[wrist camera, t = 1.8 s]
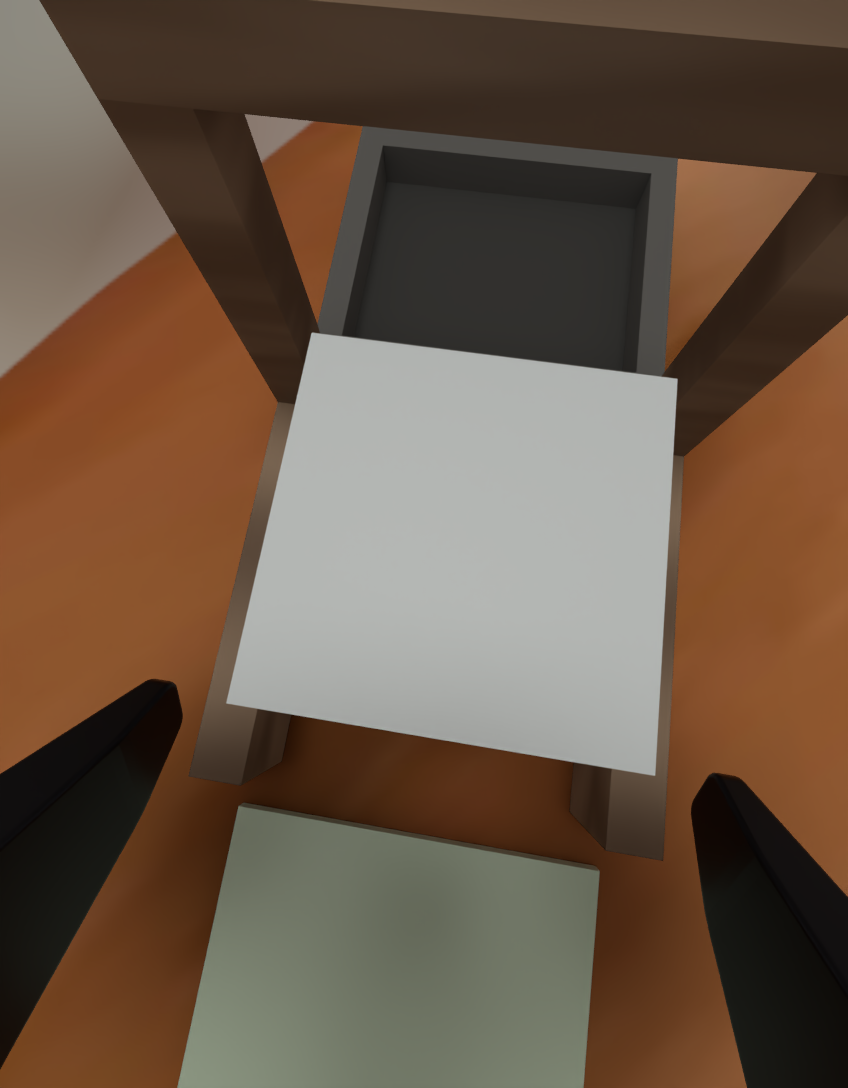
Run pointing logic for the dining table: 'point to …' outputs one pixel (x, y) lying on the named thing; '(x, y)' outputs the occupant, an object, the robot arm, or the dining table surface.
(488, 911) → the pad
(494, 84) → the wooden gate frame
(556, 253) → the box
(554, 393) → the block
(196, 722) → the dining table surface
